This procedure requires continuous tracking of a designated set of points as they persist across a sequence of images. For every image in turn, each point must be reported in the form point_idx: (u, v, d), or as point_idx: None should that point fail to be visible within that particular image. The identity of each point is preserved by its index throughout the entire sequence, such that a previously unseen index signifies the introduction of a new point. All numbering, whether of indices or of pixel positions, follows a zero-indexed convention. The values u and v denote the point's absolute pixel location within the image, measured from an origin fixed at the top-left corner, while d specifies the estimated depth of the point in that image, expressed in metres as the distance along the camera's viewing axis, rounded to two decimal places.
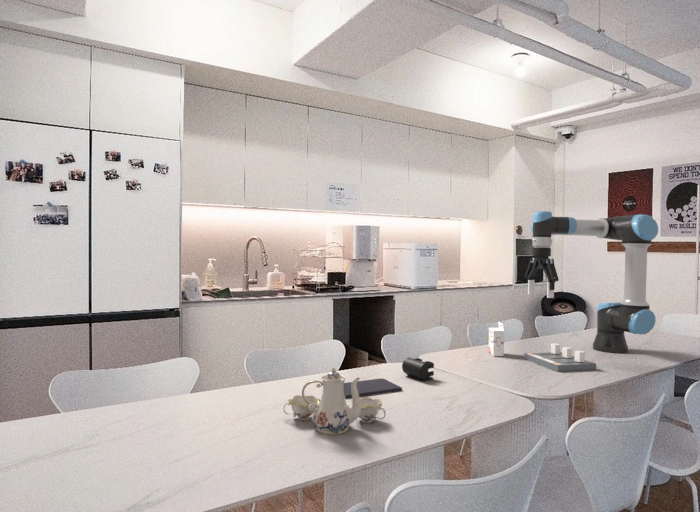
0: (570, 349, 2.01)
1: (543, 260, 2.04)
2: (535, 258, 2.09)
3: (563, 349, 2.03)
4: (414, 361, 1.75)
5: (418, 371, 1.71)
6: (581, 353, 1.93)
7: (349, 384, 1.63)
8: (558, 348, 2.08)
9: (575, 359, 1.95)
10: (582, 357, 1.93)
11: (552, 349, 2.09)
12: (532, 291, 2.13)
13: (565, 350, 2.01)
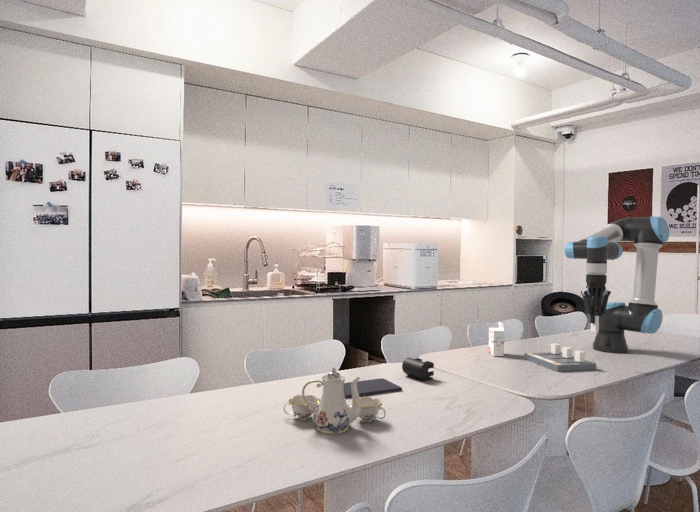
0: (570, 349, 2.01)
1: None
2: None
3: (563, 349, 2.03)
4: (414, 361, 1.75)
5: (418, 371, 1.71)
6: (581, 353, 1.93)
7: (349, 384, 1.63)
8: (558, 348, 2.08)
9: (575, 359, 1.95)
10: (582, 357, 1.93)
11: (552, 349, 2.09)
12: None
13: (565, 350, 2.01)
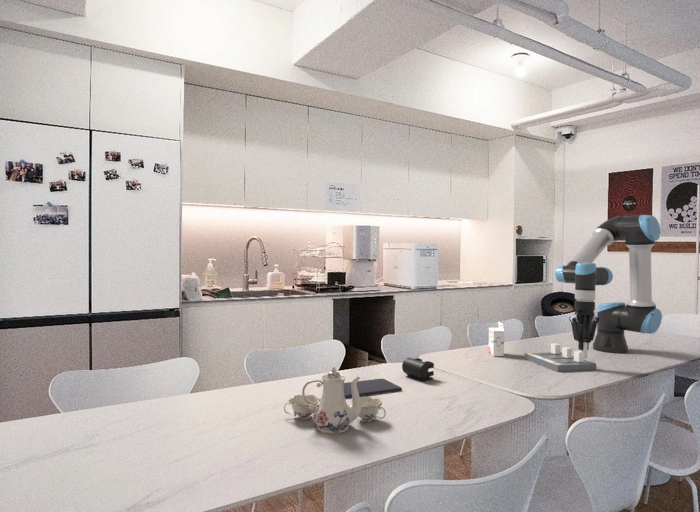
0: (570, 349, 2.01)
1: None
2: None
3: (563, 349, 2.03)
4: (414, 361, 1.75)
5: (418, 371, 1.71)
6: (580, 353, 1.93)
7: (349, 384, 1.63)
8: (558, 348, 2.08)
9: (574, 359, 1.95)
10: (581, 357, 1.93)
11: (552, 349, 2.09)
12: (584, 354, 1.95)
13: (565, 350, 2.01)
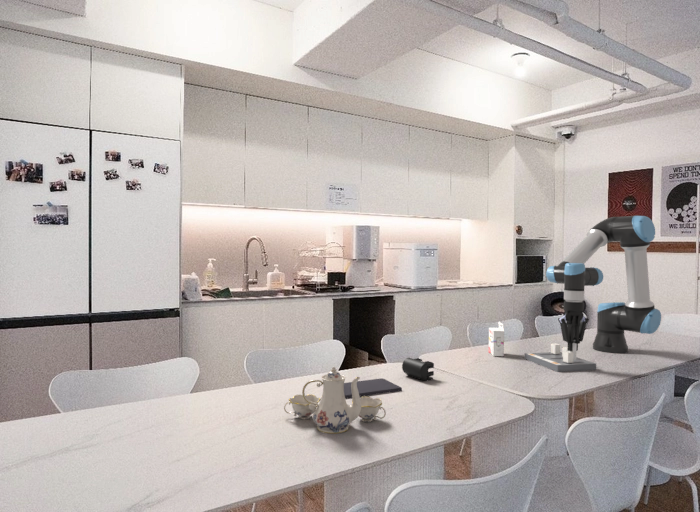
0: None
1: None
2: None
3: (563, 349, 2.03)
4: (414, 361, 1.75)
5: (418, 371, 1.71)
6: (569, 354, 1.92)
7: (349, 384, 1.63)
8: (558, 348, 2.08)
9: (564, 360, 1.94)
10: (570, 358, 1.92)
11: (552, 349, 2.09)
12: None
13: (565, 350, 2.01)
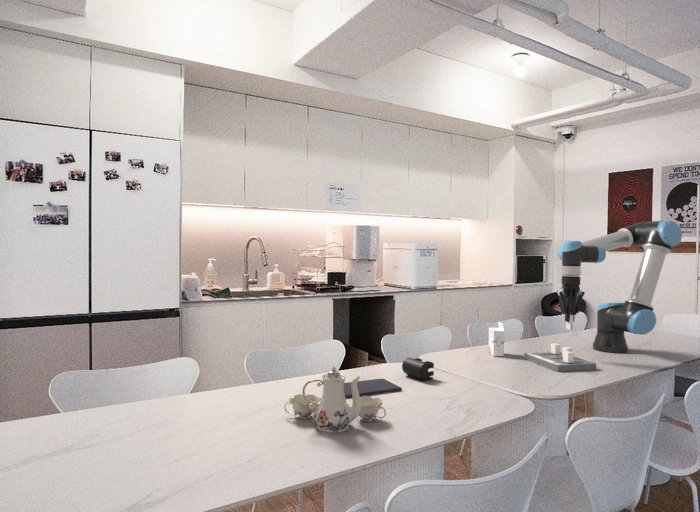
0: (570, 349, 2.01)
1: None
2: None
3: (563, 349, 2.03)
4: (414, 361, 1.75)
5: (418, 371, 1.71)
6: (569, 354, 1.92)
7: (349, 384, 1.63)
8: (558, 348, 2.08)
9: (564, 360, 1.94)
10: (570, 358, 1.92)
11: (552, 349, 2.09)
12: None
13: (565, 350, 2.01)
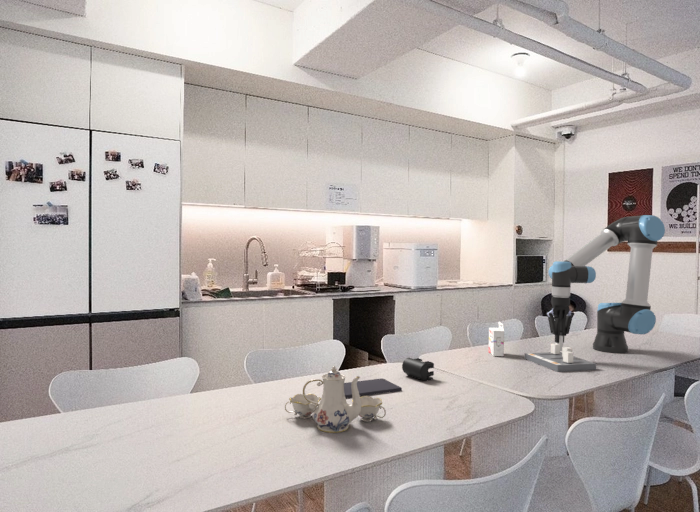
0: (570, 349, 2.01)
1: None
2: None
3: (563, 349, 2.03)
4: (414, 361, 1.75)
5: (418, 371, 1.71)
6: (569, 354, 1.92)
7: (349, 384, 1.63)
8: (558, 348, 2.08)
9: (564, 360, 1.94)
10: (570, 358, 1.92)
11: (552, 349, 2.09)
12: None
13: (565, 350, 2.01)
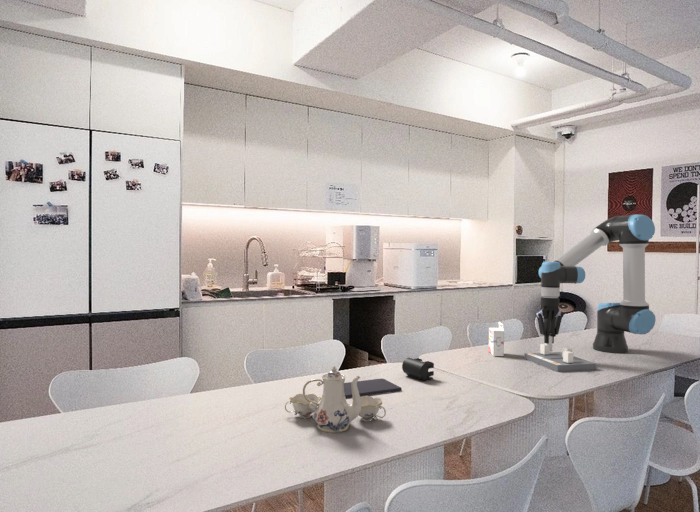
0: (570, 349, 2.01)
1: None
2: None
3: (563, 349, 2.03)
4: (414, 361, 1.75)
5: (418, 371, 1.71)
6: (569, 354, 1.92)
7: (348, 384, 1.63)
8: (547, 348, 2.07)
9: (564, 360, 1.94)
10: (570, 358, 1.92)
11: (541, 349, 2.08)
12: None
13: (565, 350, 2.01)
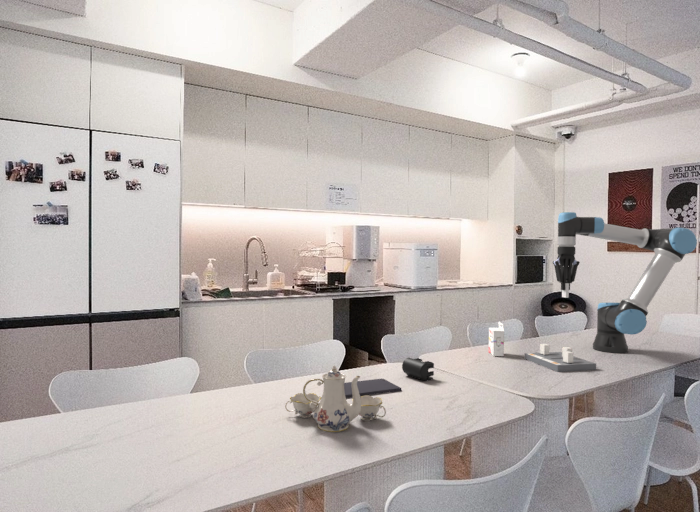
0: (570, 349, 2.01)
1: None
2: None
3: (563, 349, 2.03)
4: (414, 361, 1.75)
5: (418, 371, 1.71)
6: (569, 354, 1.92)
7: (348, 384, 1.63)
8: (547, 348, 2.07)
9: (564, 360, 1.94)
10: (570, 358, 1.92)
11: (541, 349, 2.08)
12: None
13: (565, 350, 2.01)
